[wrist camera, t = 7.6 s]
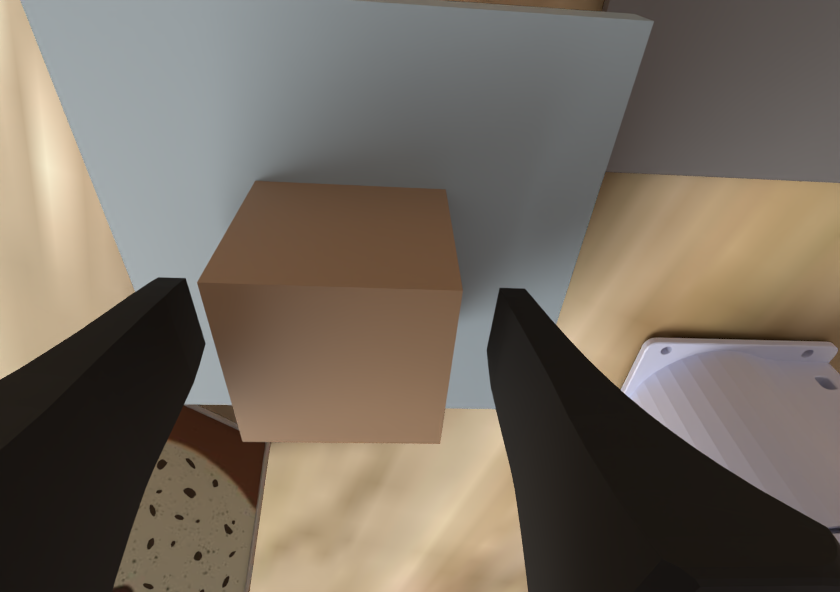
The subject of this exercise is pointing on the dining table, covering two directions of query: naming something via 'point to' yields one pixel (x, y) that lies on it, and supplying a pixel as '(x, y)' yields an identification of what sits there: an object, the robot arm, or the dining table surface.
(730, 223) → the dining table surface
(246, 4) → the lid
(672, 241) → the dining table surface
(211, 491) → the food container
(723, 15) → the mat
